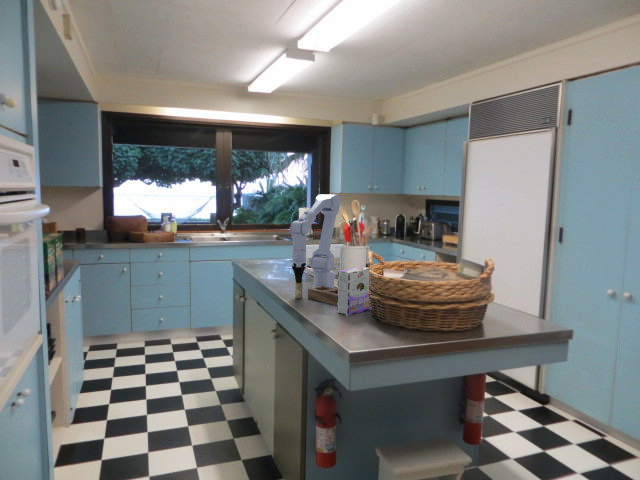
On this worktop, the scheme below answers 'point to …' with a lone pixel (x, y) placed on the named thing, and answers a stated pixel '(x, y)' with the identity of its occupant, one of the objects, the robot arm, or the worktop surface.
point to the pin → (299, 290)
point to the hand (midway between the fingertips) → (298, 281)
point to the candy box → (353, 291)
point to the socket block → (324, 294)
